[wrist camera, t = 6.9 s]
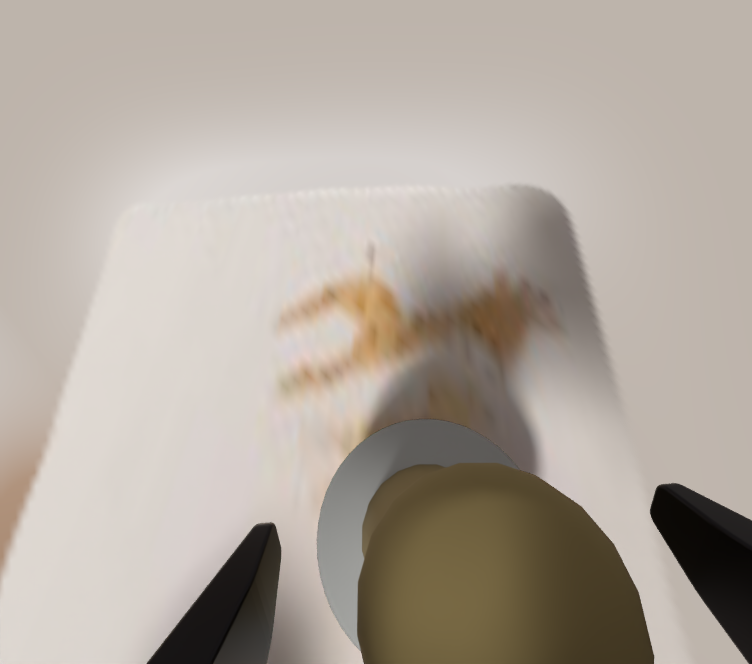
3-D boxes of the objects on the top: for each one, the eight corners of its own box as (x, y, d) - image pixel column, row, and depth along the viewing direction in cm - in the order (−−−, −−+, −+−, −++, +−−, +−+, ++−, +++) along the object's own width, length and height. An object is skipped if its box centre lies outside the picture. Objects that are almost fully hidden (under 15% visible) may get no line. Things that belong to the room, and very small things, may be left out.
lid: (553, 690, 14) (562, 702, 13) (303, 660, 15) (298, 669, 14) (531, 430, 18) (538, 428, 17) (335, 413, 18) (333, 410, 18)
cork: (352, 475, 16) (305, 462, 6) (479, 453, 17) (627, 407, 7) (372, 637, 14) (347, 1026, 4) (520, 608, 14) (846, 906, 4)
